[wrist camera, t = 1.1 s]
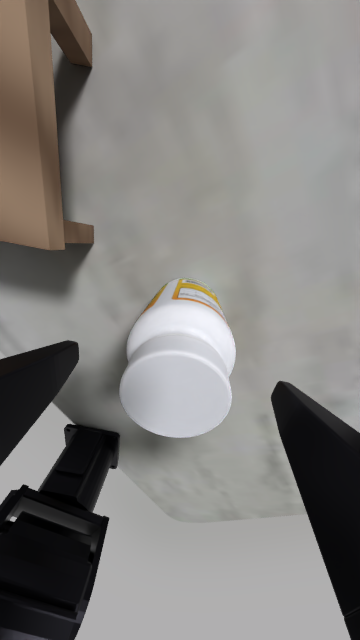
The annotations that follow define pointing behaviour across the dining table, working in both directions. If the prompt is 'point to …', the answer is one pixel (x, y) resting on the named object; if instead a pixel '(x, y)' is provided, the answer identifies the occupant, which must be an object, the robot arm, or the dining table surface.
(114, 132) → the dining table surface
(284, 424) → the robot arm
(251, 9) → the dining table surface
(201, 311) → the supplement bottle
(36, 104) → the stool
